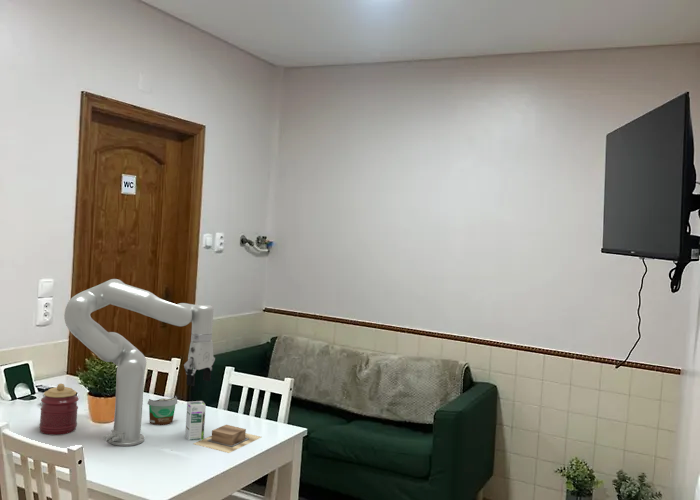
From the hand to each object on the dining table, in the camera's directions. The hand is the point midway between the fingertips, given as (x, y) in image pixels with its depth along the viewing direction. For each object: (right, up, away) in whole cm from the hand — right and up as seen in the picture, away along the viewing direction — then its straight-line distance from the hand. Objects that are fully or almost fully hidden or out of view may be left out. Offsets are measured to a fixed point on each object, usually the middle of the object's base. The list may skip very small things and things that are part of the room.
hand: (198, 382), depth 242 cm
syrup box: (-2, -22, +1) cm, 22 cm away
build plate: (+11, -23, 0) cm, 25 cm away
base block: (+11, -22, 0) cm, 24 cm away
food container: (-18, -20, +18) cm, 33 cm away
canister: (-53, -18, +1) cm, 56 cm away
